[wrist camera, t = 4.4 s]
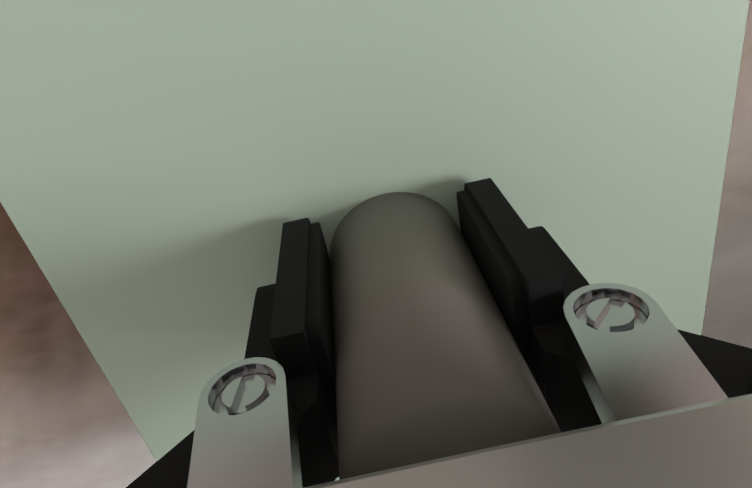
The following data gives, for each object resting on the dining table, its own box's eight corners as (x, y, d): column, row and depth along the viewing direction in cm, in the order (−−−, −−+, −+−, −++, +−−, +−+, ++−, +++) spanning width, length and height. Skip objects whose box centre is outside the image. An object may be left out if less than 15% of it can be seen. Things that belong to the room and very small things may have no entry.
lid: (749, -241, 9) (1565, -586, 3) (674, 393, 16) (874, 646, 11) (-114, -46, 9) (-882, -26, 3) (197, 495, 17) (131, 800, 11)
